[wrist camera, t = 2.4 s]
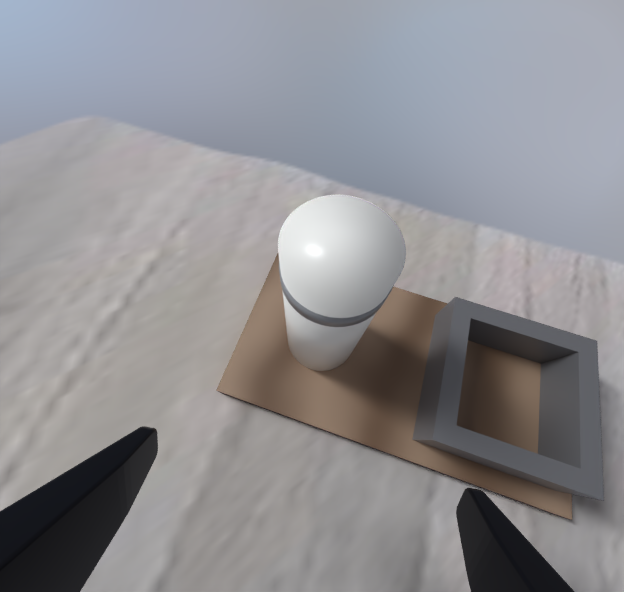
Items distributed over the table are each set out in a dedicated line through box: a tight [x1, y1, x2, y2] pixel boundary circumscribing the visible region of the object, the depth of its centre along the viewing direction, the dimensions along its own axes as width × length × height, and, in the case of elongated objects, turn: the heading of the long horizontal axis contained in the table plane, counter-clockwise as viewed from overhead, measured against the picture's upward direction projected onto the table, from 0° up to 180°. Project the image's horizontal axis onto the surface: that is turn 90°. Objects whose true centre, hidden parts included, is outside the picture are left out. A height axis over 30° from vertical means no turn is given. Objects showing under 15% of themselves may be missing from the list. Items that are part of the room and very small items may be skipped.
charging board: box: [217, 253, 572, 520], centre depth 24 cm, size 24×12×1 cm, turn 71°
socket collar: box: [412, 297, 604, 501], centre depth 21 cm, size 9×9×4 cm
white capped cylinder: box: [278, 195, 406, 371], centre depth 18 cm, size 5×5×12 cm
